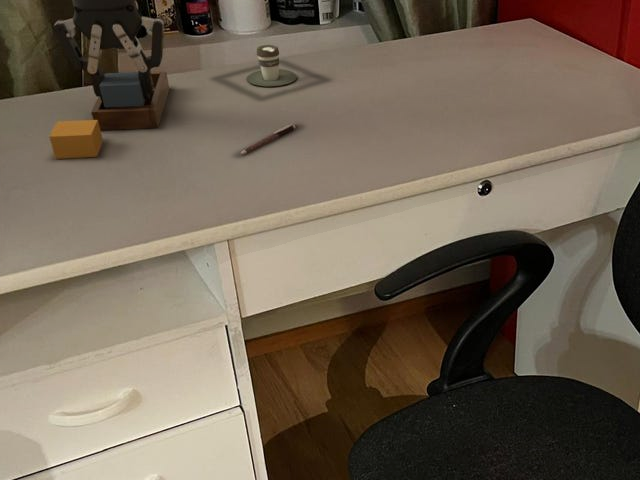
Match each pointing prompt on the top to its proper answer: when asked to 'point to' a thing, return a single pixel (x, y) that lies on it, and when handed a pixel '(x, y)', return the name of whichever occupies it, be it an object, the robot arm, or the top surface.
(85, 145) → the orange block
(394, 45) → the top surface
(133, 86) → the pad grey
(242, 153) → the pen
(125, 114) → the back frame
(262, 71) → the coffee cup
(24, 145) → the top surface
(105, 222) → the top surface
